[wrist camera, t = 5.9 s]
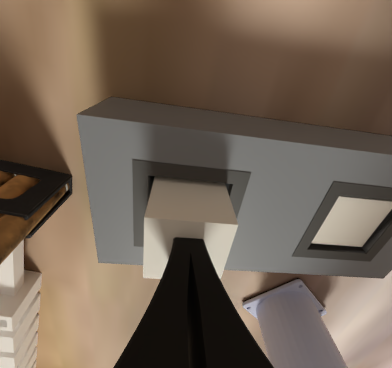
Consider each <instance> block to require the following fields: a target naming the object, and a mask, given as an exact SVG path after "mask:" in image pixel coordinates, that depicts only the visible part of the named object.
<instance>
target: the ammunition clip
mask: <svg viewBox="0 0 392 368" xmlns="http://www.w3.org/2000/svg"><path fill="white" fill-rule="evenodd" d="M71 194H72V176H71V175H69V174H65V173H60V172H55V171H51V170H46V169H41V168H37V167H32V166H27V165H23V164H18V163H13V162H9V161H4V160H0V265H1V263H2V262H3V261H4V260H5V259H6V258H7V257H8V256H9V255H10V254H11V252H12V251H13V250H14V249H15V248H16V247H17V246H18V245H19V244H20V243H21V241H22V240H23V239H24V238H31V237H32V235H33V234H34V233H35V232H36V231H37V230H38V229H39V228H40V227H41V226H42V225H43V224H44V223H45V222H46V221H47V220H48V219H49V218H50V216H51V215H52V214H53V213H54V212H55V211H56V210H57V209H58V208H59V207H60V206H61V205H62V204H63V203H64V202H65V201H66V200H67V199H68V197H69V196H70V195H71Z"/></svg>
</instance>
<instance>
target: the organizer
mask: <svg viewBox="0 0 392 368" xmlns="http://www.w3.org/2000/svg"><path fill="white" fill-rule="evenodd" d="M41 278H42V273H39V272H34V271H28V270H24V239H23V240H22V241H21V243H20V244H19V245H18V246H17V247H16V248H15V249H14V250H13V251H12V252H11V254H10V255H9V256H8V257H7V258H6V259H5V260H4V261H3V262H2V263H1V265H0V368H36V360H35V359H36V357H37V347H36V345H37V342H38V332H36V331H37V329H38V326H39V314H37V313H38V311H39V309H40V294H41V293H37V292H38V291H39V289H40V288H41Z"/></svg>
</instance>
